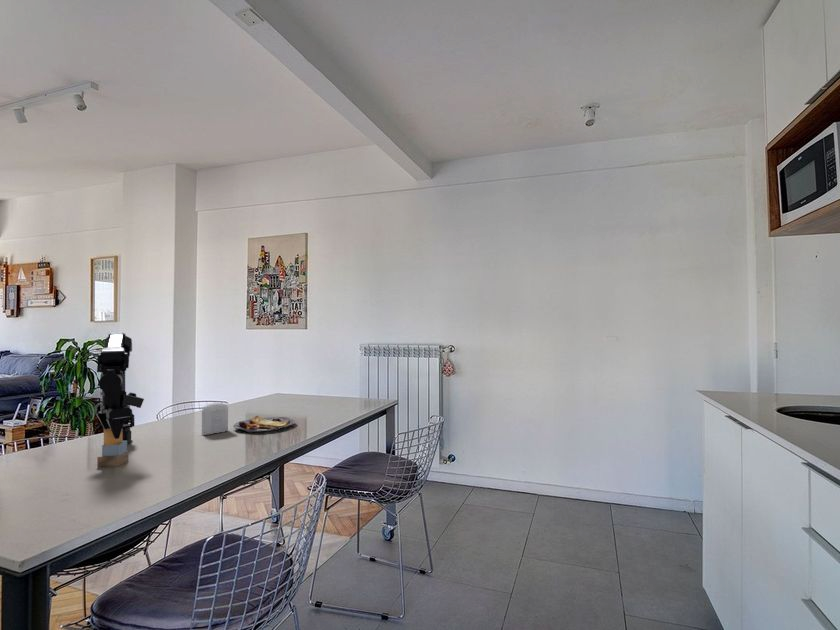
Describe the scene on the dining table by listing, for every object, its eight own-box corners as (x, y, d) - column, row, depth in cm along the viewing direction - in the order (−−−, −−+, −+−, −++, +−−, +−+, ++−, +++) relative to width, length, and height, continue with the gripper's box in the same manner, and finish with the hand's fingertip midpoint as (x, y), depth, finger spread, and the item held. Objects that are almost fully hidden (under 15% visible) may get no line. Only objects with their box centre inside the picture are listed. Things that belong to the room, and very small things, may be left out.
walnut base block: (97, 468, 139) (97, 457, 139) (109, 462, 145) (109, 451, 145) (117, 467, 139) (117, 456, 140) (128, 461, 145) (128, 450, 146)
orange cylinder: (100, 445, 140) (99, 431, 140) (110, 441, 145) (110, 427, 145) (116, 445, 140) (116, 431, 140) (125, 440, 145) (125, 427, 145)
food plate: (221, 431, 184) (222, 422, 185) (259, 420, 206) (260, 412, 206) (270, 437, 176) (270, 428, 176) (304, 425, 198) (304, 417, 198)
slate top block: (102, 456, 140) (102, 445, 140) (110, 451, 145) (110, 441, 145) (119, 455, 140) (119, 444, 140) (127, 451, 145) (127, 440, 145)
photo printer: (225, 429, 187) (225, 400, 187) (229, 431, 184) (229, 402, 184) (200, 434, 180) (200, 404, 180) (203, 436, 177) (203, 405, 177)
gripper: (150, 387, 142) (150, 436, 142) (132, 383, 155) (132, 427, 154) (109, 392, 134) (109, 443, 134) (94, 386, 146) (94, 433, 146)
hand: (112, 436), depth 142 cm, fingers open, 9 cm apart
